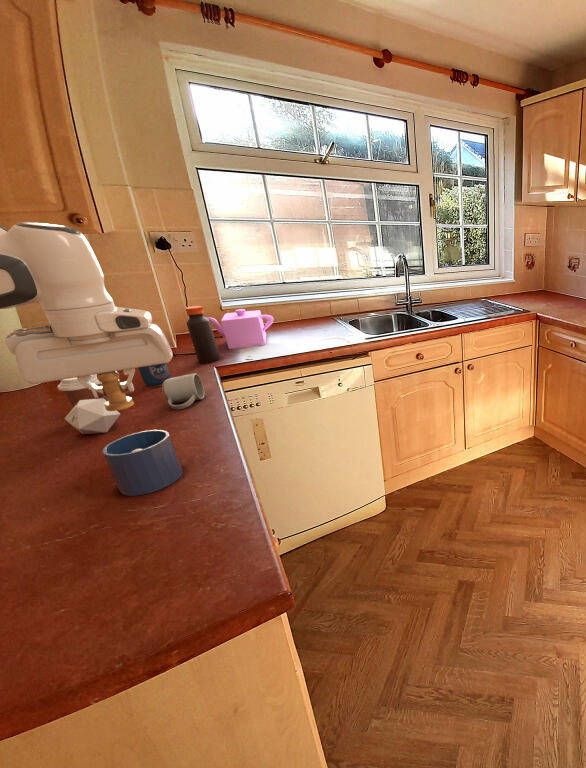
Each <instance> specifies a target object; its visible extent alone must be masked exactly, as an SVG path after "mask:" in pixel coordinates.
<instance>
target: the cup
mask: <svg viewBox="0 0 586 768" xmlns="http://www.w3.org/2000/svg"><path fill="white" fill-rule="evenodd" d="M136 449H142V450H139V451H135V452H132V451H133V450H136ZM101 453H102V455H103V458H104V459H105V460H104V461H106V464H107V467H108V468H109V471H110V473H111V475H112V478H113V480H114V482H115V484H116V487H117V489H118V490H119V493H120V494H121V495H123V496H127V497H136V496H142V495H148V494H152V493H154V492H157V491H160V490H162V489H164V488H167V487H169V486H171V485H172V484H174V483H175V482H176V481H178V480H179V479H180V478H181V477H182V475H183V474H184V473H183V467H182V465H181V462H180V459H179V457H178V454H177V451H176V449H175V445H174V442H173V439H172V437H171V435H170V432H169V431H168V430H163V429H147V430H143V431H138V432H134V433H131V434H127V435H124V436H122V437H119V438H117V439H115V440H113V441H111V442H110V443H108V444H106V445H105V446H104V447H103V448H102V451H101Z"/></svg>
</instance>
